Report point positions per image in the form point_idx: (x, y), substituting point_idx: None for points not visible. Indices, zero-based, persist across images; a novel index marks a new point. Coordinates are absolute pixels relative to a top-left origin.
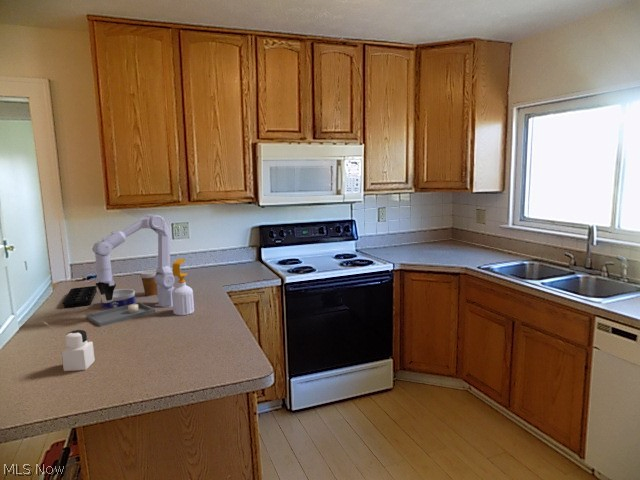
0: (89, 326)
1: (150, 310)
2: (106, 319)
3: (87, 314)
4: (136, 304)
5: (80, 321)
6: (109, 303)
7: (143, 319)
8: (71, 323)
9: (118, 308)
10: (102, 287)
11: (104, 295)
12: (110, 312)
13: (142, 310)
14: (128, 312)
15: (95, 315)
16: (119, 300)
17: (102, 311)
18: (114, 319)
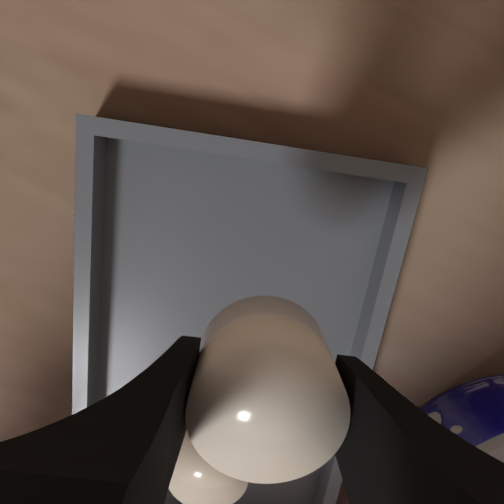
0: (203, 80)
1: None
2: (223, 241)
3: (423, 181)
4: (204, 502)
5: (403, 105)
6: (481, 421)
7: (20, 392)
8: (428, 26)
9: None
10: (56, 463)
11: (239, 373)
12: (354, 343)
13: None
14: None
15: (384, 236)
16: None
17: (376, 299)
18: (75, 244)
